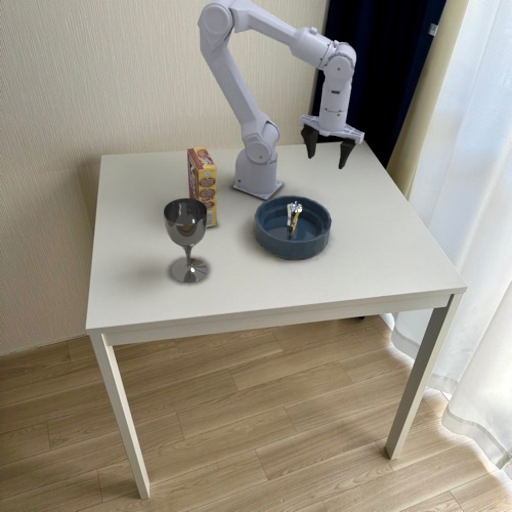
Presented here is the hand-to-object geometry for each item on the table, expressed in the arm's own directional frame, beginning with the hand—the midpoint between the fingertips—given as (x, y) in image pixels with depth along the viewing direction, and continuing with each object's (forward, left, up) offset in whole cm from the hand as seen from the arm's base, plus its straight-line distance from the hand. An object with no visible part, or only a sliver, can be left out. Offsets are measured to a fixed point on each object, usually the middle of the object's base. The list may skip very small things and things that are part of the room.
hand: (326, 161), depth 118 cm
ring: (+1, -17, -10) cm, 19 cm away
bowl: (+1, -17, -10) cm, 19 cm away
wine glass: (-11, -38, -10) cm, 40 cm away
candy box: (-19, -22, -10) cm, 31 cm away
